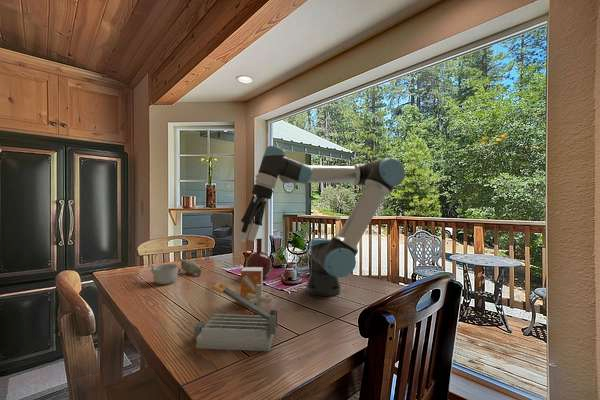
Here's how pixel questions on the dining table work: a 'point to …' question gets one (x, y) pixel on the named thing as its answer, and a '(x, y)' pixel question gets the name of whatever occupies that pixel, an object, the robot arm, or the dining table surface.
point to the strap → (239, 299)
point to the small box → (250, 280)
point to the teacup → (164, 273)
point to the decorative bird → (190, 267)
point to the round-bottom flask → (260, 259)
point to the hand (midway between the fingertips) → (246, 241)
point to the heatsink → (237, 332)
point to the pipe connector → (259, 297)
